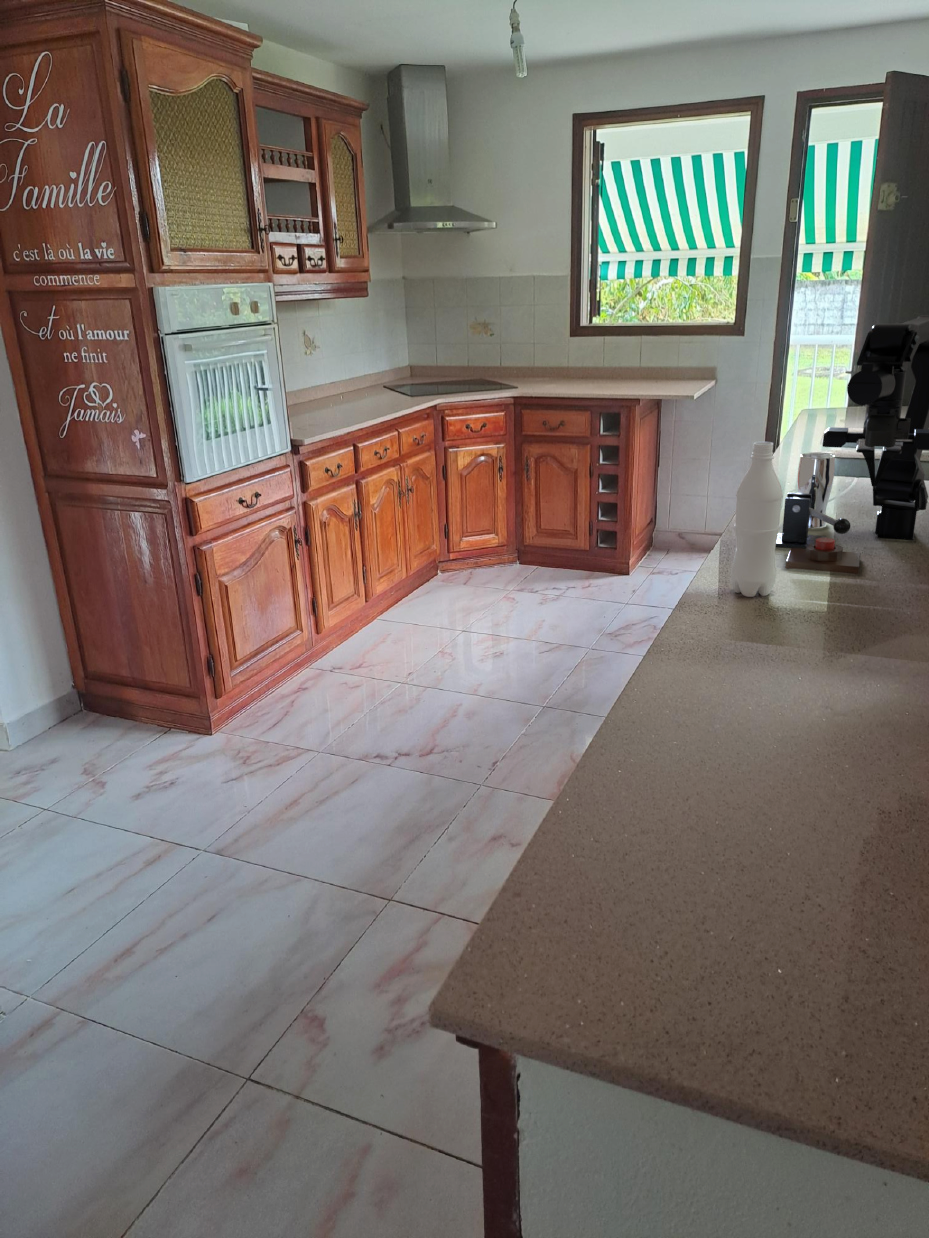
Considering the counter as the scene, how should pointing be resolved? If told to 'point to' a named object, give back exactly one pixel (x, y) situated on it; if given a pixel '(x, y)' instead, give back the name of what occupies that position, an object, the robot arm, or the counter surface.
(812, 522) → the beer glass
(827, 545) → the red push button
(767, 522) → the water bottle
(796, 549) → the control block
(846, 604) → the counter surface
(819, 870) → the counter surface
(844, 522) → the lever with ball knob
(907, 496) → the robot arm
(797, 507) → the black lever housing
